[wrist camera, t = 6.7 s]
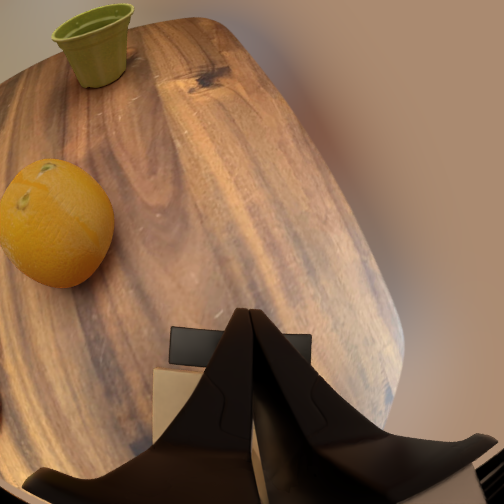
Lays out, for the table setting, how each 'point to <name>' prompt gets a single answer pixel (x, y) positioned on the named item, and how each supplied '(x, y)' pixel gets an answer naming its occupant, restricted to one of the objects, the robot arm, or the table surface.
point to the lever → (205, 342)
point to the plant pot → (96, 43)
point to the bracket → (172, 401)
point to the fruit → (55, 223)
